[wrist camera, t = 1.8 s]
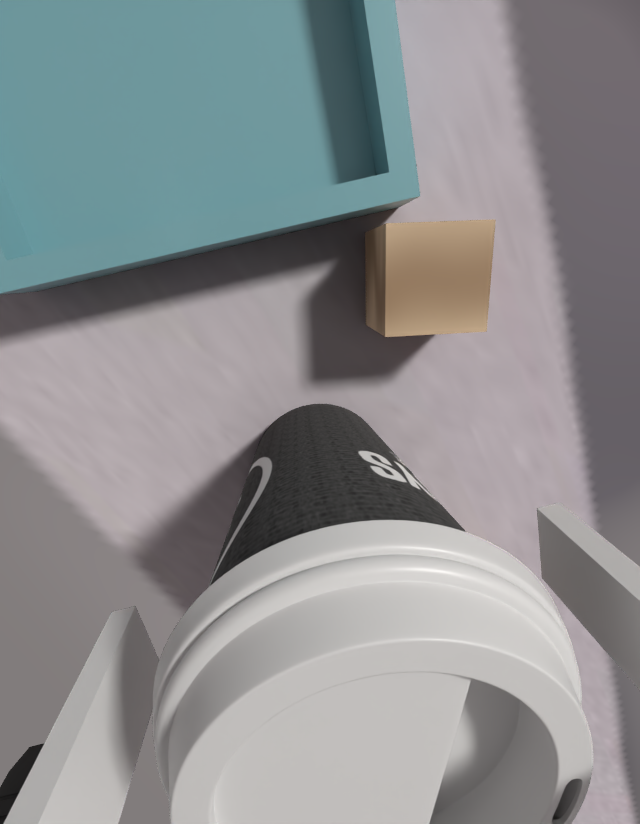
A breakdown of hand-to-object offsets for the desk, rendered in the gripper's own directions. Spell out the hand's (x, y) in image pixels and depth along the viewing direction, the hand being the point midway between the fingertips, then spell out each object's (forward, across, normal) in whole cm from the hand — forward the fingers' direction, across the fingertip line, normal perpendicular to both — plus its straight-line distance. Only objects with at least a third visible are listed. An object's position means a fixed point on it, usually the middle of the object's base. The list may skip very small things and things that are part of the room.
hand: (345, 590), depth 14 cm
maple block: (+9, +6, +8) cm, 14 cm away
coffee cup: (+9, 0, 0) cm, 9 cm away
